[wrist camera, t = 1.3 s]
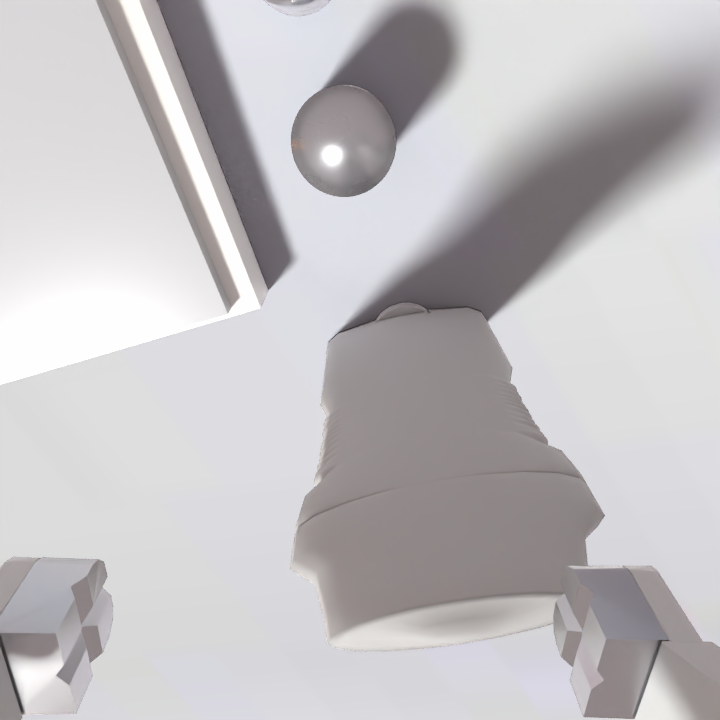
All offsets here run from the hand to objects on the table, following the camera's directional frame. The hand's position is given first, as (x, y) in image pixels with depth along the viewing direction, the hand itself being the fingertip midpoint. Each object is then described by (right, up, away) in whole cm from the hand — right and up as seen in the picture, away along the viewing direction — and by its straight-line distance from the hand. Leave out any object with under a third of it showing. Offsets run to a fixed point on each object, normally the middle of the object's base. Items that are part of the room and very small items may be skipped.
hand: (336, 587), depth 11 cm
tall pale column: (+3, +6, +26) cm, 27 cm away
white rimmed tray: (-17, +15, +21) cm, 31 cm away
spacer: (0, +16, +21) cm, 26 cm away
